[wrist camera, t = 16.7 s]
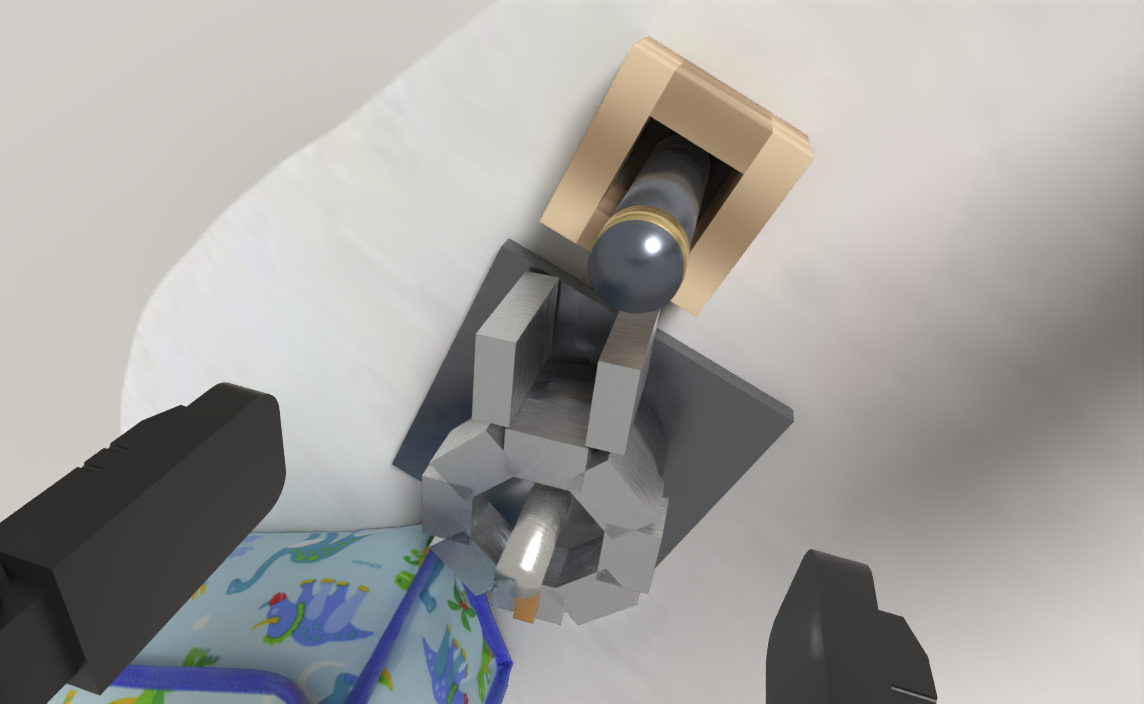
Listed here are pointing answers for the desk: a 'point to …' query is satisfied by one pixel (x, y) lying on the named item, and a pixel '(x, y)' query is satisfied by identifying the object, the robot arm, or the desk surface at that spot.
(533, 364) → the grey cube ring
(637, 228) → the dark grey cylinder
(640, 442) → the chuck base
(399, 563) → the lunch bag
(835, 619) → the robot arm
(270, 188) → the desk surface
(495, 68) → the desk surface
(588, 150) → the holder
